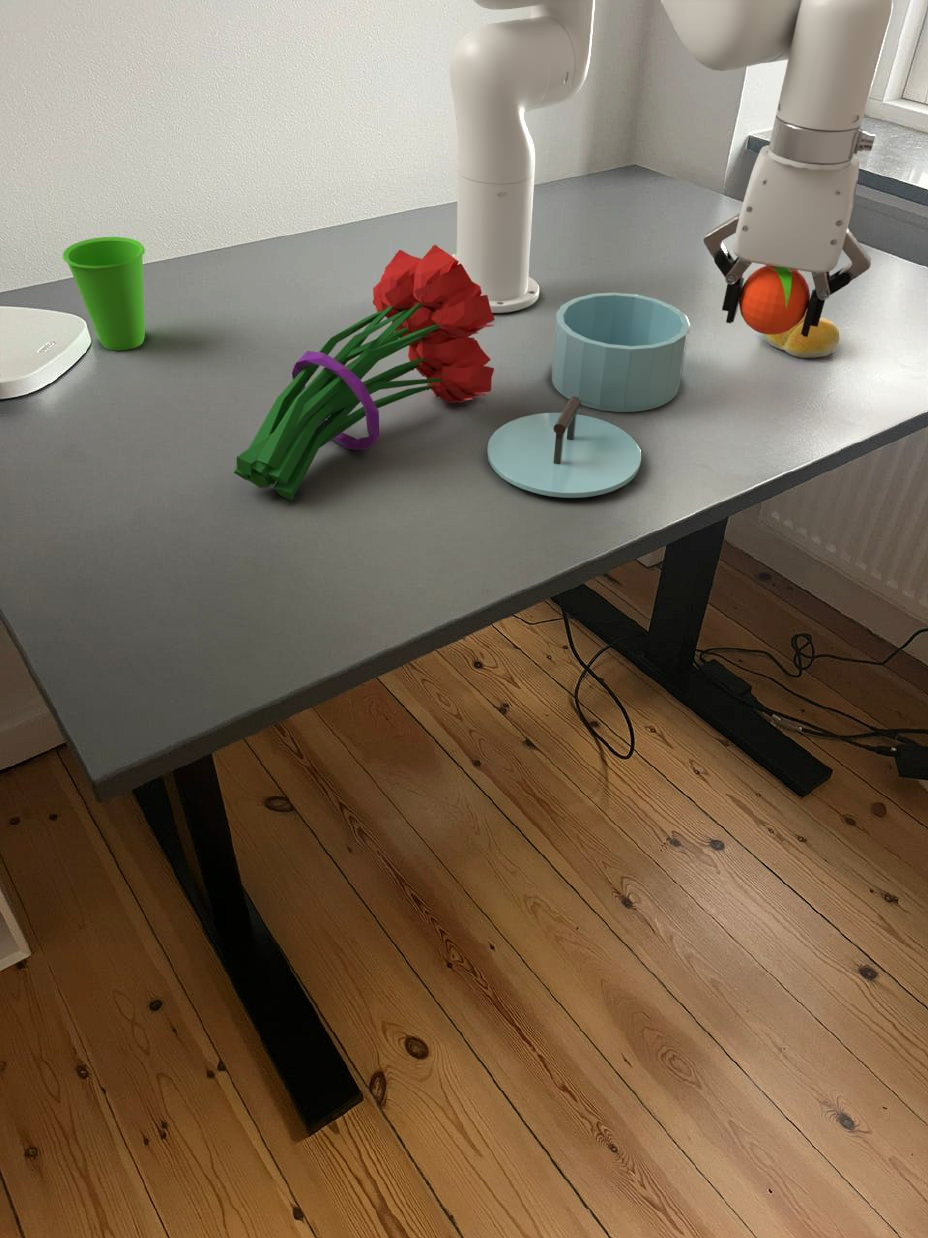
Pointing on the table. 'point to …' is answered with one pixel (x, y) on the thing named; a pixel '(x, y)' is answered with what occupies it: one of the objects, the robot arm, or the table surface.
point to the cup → (111, 288)
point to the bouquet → (438, 348)
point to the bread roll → (807, 340)
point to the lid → (564, 454)
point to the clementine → (774, 299)
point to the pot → (619, 351)
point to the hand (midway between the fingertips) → (768, 323)
